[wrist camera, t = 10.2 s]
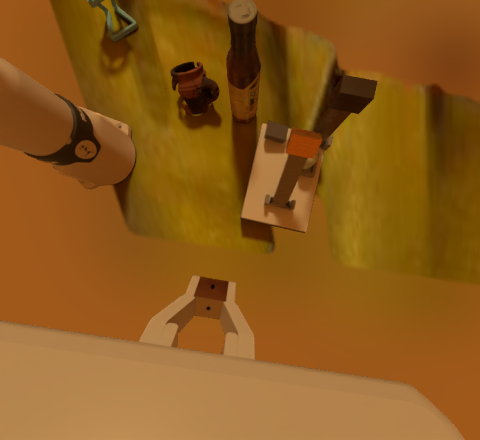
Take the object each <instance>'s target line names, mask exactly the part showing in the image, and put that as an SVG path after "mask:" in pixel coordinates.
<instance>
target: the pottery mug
mask: <svg viewBox="0 0 480 440" xmlns="http://www.w3.org/2000/svg"><path fill="white" fill-rule="evenodd" d="M197 66H198V67H195V65H194V62H187V63H183V64H181V65H178V66H176V67H174V68H173V69H172V70H171V76H173V78H172V88H173V90H174V91H175V90H176V85H177V83H178V82H179V84H178V85H179V86H178V92H179V93H180V95H181V96H183V97H184V100H185V102H186V104H187V105H184V104H183V105H182V107H183V109H184V110H185V112H186V113H187V114H193V115H194V114H201V113H204V112H205V111H207V103H208V104H211V102H213V101H215V100H216V99H217V98H218V96H219V88H218V85H217V83H216V82H215V81H213V80H211V79H208V78H207V77H205V76H206V71H205V70H204V69H203V64H202V63H201V62H197ZM200 88H201V89H202V93H201V94H200V92H199V91H198V89H200ZM212 92H213V94H212Z"/></svg>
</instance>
